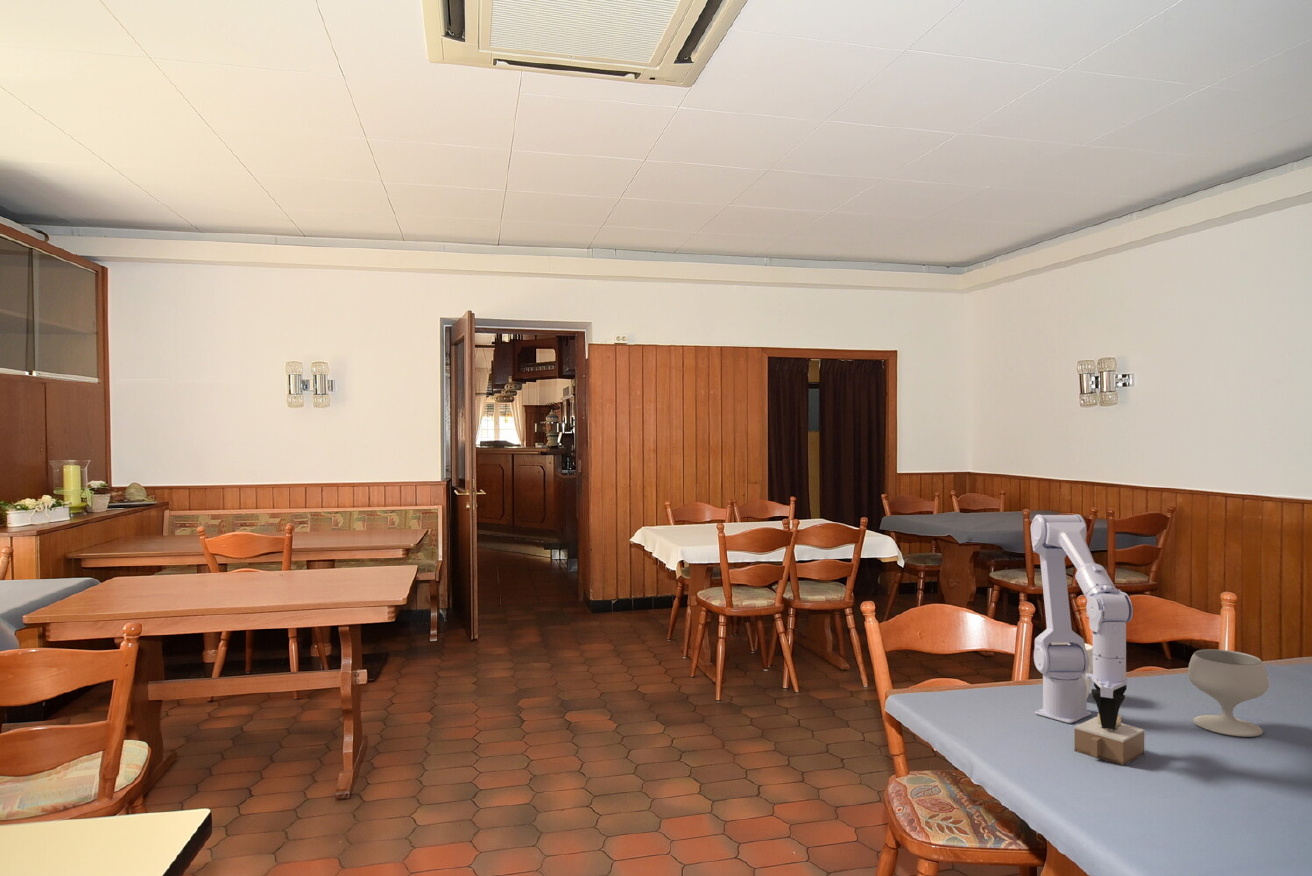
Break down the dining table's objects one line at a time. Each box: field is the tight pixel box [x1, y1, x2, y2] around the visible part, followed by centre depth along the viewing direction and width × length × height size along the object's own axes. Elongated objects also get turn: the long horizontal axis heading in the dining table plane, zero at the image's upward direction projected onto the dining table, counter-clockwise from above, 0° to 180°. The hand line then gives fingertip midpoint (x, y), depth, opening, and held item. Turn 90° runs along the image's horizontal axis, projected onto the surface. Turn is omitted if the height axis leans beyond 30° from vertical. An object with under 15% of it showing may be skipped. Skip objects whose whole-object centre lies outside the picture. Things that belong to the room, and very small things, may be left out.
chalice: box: [1187, 648, 1270, 738], centre depth 172 cm, size 14×14×15 cm
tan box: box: [1074, 716, 1145, 766], centre depth 159 cm, size 11×9×5 cm
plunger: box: [1097, 711, 1122, 731], centre depth 160 cm, size 4×4×6 cm
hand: (1109, 724), depth 160 cm, fingers closed on plunger, 4 cm apart
